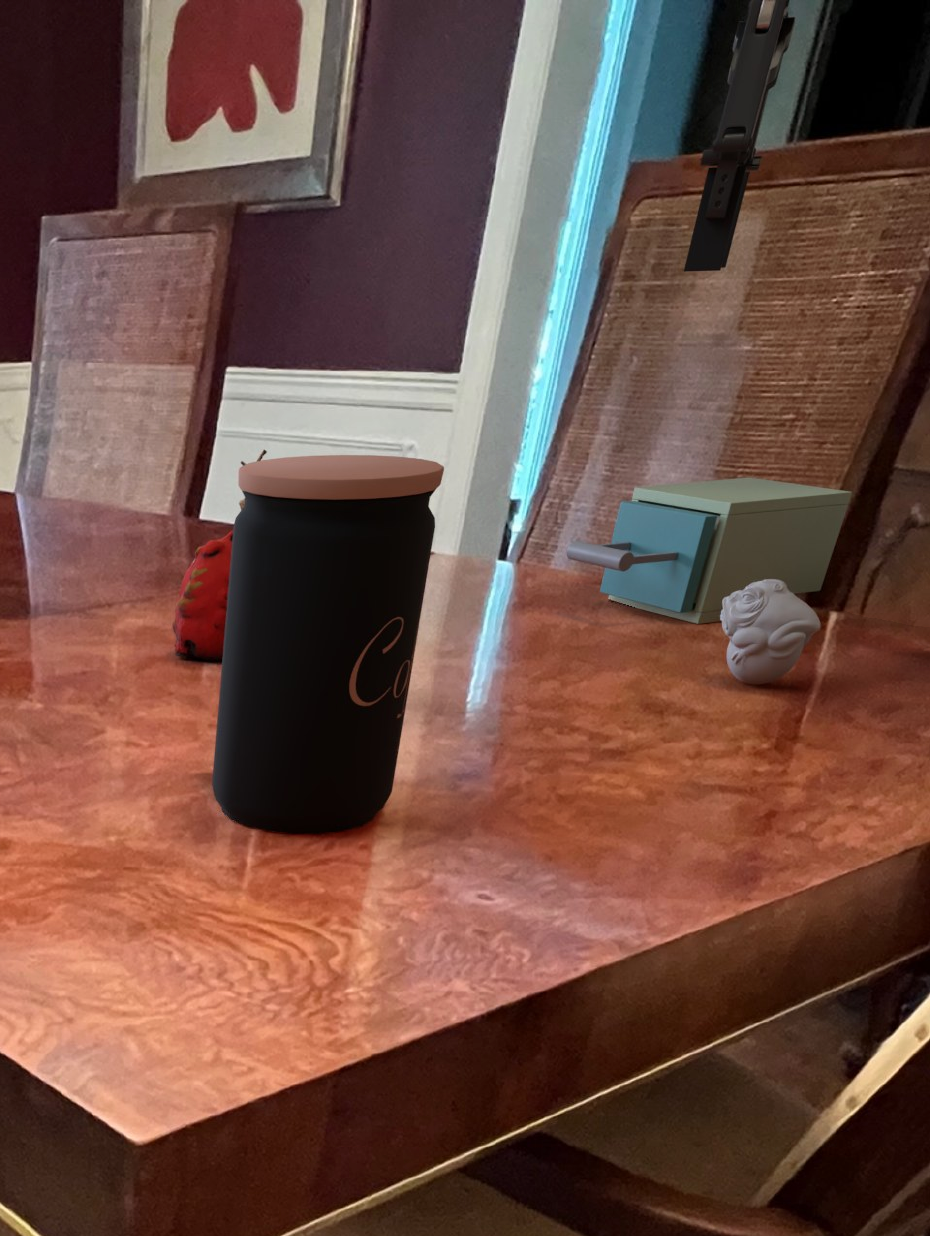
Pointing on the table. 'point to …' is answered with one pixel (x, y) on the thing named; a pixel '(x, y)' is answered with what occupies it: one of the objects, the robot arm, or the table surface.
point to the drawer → (653, 554)
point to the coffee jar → (320, 638)
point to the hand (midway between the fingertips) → (705, 270)
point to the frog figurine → (765, 630)
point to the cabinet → (755, 536)
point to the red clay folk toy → (205, 600)
